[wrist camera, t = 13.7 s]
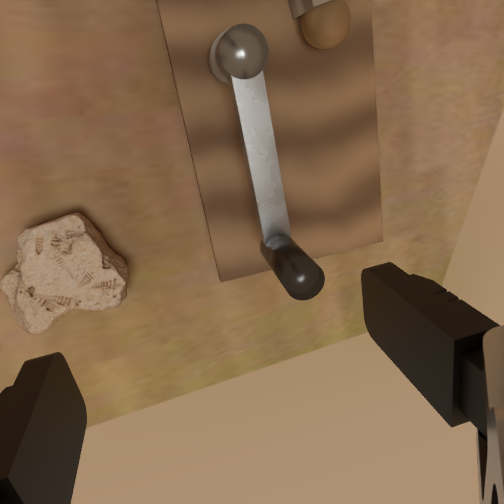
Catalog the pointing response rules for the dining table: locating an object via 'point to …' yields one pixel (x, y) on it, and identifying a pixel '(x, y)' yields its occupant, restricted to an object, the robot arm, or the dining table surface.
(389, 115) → the dining table surface
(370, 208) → the board
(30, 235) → the stone
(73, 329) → the dining table surface
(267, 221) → the lever
